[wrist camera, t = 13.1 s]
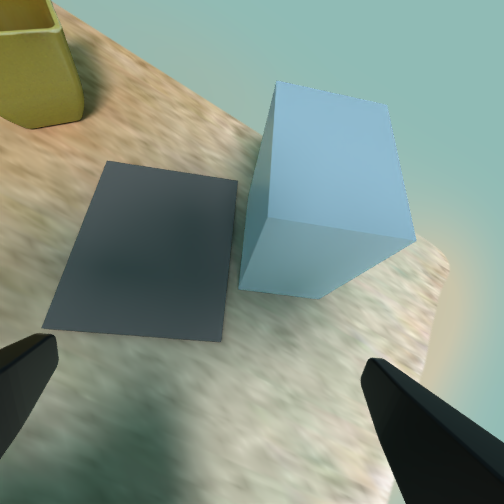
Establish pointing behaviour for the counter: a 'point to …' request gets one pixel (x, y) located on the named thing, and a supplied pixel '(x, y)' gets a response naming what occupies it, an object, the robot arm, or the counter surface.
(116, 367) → the counter surface
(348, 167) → the light blue rectangular block
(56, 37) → the flower pot
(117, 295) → the mat
